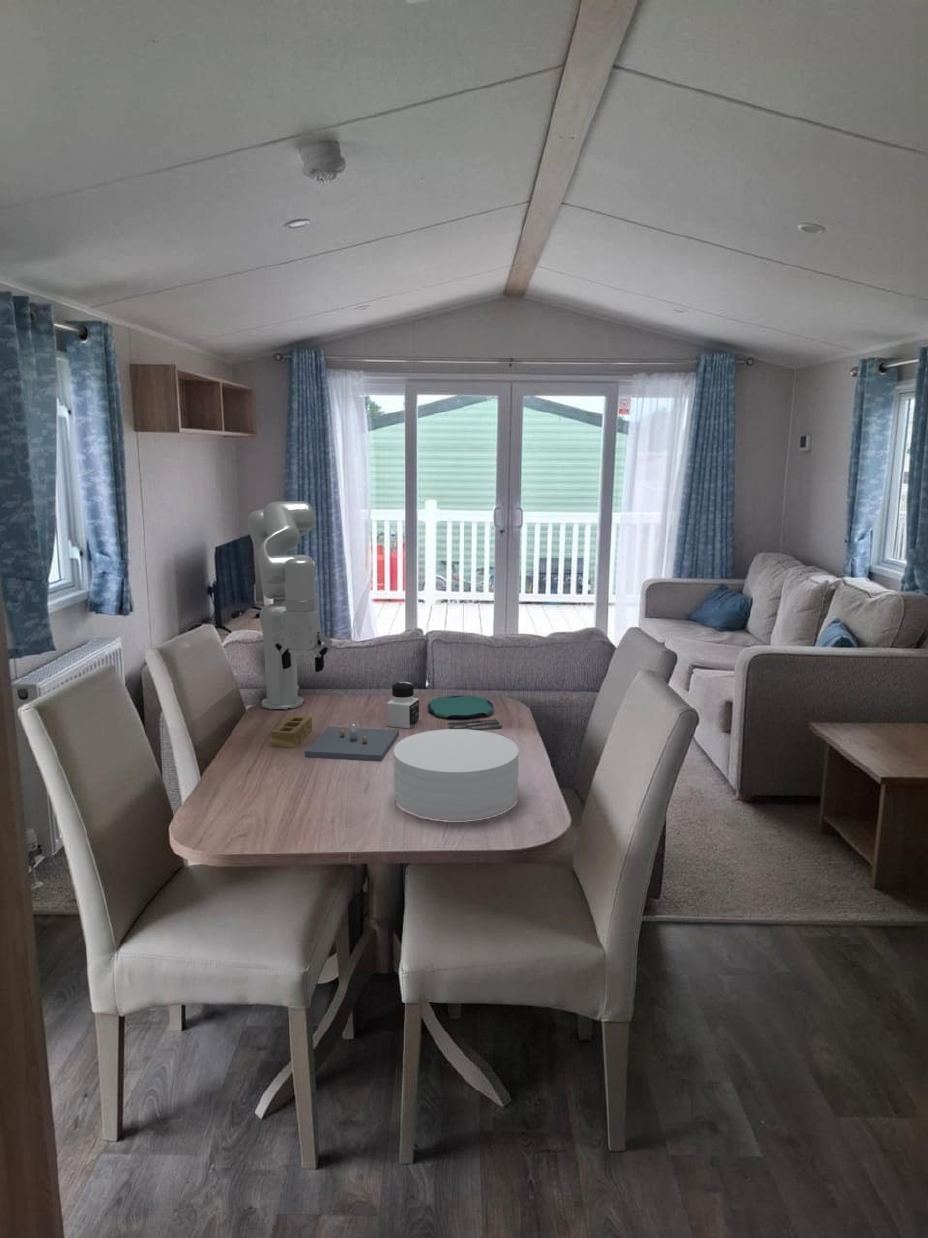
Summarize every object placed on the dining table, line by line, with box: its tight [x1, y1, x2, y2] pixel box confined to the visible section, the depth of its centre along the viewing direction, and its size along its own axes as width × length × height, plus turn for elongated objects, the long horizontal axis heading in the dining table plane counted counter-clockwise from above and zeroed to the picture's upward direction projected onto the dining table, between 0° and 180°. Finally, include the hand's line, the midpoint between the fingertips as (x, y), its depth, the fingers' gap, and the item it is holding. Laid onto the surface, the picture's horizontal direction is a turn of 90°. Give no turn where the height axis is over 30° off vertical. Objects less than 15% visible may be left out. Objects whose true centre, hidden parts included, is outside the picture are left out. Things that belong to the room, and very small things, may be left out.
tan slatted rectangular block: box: [270, 715, 313, 749], centre depth 229 cm, size 14×6×4 cm, turn 172°
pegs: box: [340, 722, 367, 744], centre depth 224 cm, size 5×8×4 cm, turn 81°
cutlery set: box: [427, 694, 503, 731], centre depth 251 cm, size 20×30×2 cm, turn 12°
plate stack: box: [393, 728, 520, 821], centre depth 190 cm, size 28×28×12 cm
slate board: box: [304, 726, 400, 762], centre depth 224 cm, size 20×20×2 cm
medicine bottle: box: [386, 681, 420, 729], centre depth 241 cm, size 7×7×12 cm
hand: (302, 669), depth 224 cm, fingers open, 9 cm apart
